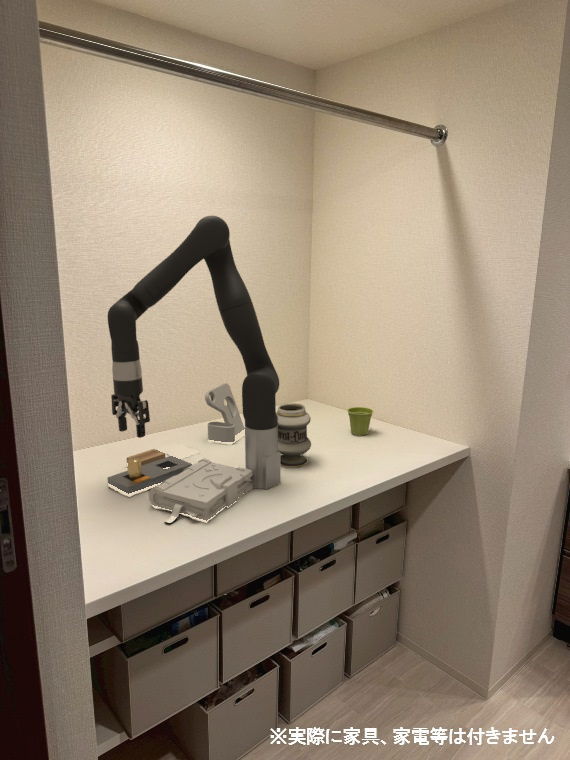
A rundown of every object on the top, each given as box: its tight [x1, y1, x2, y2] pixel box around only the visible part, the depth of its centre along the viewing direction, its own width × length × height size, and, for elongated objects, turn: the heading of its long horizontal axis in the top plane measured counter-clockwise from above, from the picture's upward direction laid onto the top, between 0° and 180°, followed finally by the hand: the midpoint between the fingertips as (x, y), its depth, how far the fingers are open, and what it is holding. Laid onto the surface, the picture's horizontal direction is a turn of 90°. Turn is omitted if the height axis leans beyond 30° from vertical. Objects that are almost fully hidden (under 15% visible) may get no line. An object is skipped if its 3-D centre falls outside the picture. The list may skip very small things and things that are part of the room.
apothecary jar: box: [276, 402, 312, 468], centre depth 171 cm, size 12×12×18 cm
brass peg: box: [126, 457, 142, 481], centre depth 153 cm, size 4×4×8 cm
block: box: [126, 448, 166, 466], centre depth 169 cm, size 6×10×3 cm, turn 139°
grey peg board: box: [107, 455, 193, 494], centre depth 158 cm, size 10×22×3 cm, turn 139°
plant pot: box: [346, 406, 374, 436], centre depth 198 cm, size 9×9×9 cm
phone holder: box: [204, 382, 245, 442], centre depth 194 cm, size 17×10×18 cm, turn 160°
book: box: [148, 458, 253, 521], centre depth 144 cm, size 19×28×8 cm
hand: (132, 433), depth 150 cm, fingers open, 8 cm apart
